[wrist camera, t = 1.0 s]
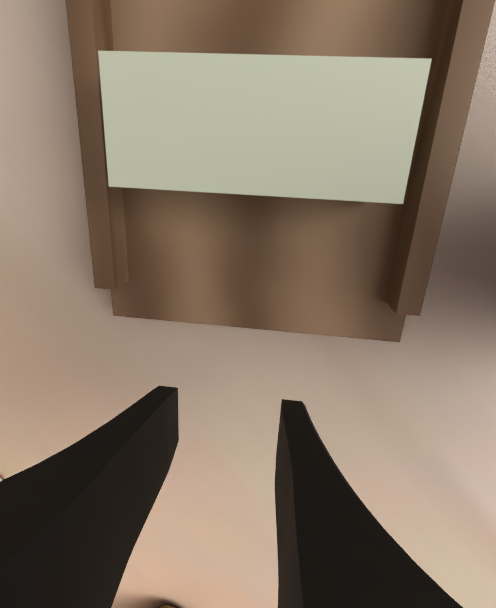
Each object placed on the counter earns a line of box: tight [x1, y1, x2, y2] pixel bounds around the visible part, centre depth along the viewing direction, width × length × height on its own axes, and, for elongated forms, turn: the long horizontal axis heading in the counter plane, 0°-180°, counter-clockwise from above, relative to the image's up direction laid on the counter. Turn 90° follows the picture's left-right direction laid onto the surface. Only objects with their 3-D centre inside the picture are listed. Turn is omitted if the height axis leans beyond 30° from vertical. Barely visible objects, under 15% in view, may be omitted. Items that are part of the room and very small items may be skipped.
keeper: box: [98, 51, 432, 204], centre depth 13 cm, size 10×4×4 cm, turn 87°
